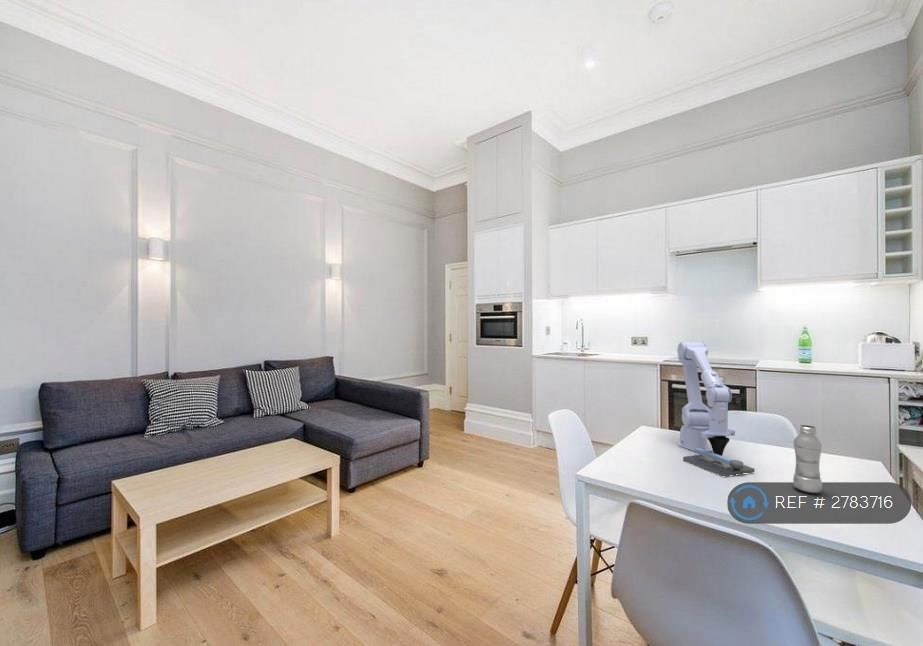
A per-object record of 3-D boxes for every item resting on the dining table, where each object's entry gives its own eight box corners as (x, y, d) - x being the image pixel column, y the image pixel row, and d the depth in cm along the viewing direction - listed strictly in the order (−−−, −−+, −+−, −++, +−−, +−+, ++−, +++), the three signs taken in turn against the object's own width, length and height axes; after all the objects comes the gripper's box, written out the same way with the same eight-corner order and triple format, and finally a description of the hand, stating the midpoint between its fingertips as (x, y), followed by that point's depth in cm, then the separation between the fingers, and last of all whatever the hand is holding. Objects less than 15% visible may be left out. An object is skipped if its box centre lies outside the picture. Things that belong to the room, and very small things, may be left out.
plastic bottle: (827, 497, 113) (828, 430, 113) (801, 494, 114) (802, 428, 114) (812, 487, 119) (813, 424, 119) (787, 485, 121) (788, 423, 121)
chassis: (683, 460, 142) (683, 455, 142) (711, 457, 146) (711, 452, 146) (724, 477, 127) (724, 471, 127) (754, 473, 131) (754, 467, 131)
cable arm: (745, 468, 129) (745, 463, 129) (738, 469, 128) (738, 464, 128) (700, 451, 145) (700, 447, 145) (692, 452, 144) (692, 447, 144)
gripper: (713, 423, 135) (713, 461, 135) (743, 420, 139) (743, 457, 139) (695, 418, 141) (695, 455, 141) (724, 416, 146) (724, 451, 146)
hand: (717, 456), depth 141 cm, fingers closed
